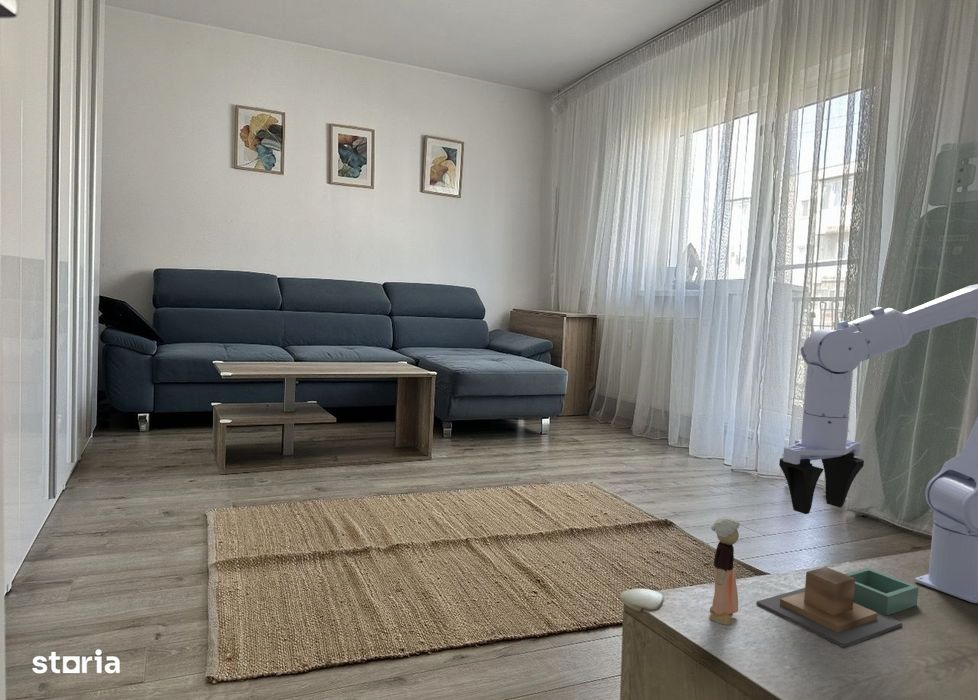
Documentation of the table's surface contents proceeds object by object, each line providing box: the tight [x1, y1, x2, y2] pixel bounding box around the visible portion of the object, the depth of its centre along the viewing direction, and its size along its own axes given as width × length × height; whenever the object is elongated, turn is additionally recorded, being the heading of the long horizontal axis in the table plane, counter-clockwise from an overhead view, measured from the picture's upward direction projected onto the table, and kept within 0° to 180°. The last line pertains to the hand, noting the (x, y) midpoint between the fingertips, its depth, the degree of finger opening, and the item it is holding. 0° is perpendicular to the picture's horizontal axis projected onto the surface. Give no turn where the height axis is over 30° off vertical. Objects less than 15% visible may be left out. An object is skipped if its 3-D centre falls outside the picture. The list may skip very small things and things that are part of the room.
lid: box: [780, 566, 879, 632], centre depth 86 cm, size 8×8×5 cm
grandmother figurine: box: [708, 515, 741, 626], centre depth 84 cm, size 8×4×13 cm, turn 168°
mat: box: [755, 587, 903, 648], centre depth 86 cm, size 12×12×1 cm
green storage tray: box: [844, 567, 919, 616], centre depth 91 cm, size 7×7×2 cm
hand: (818, 508), depth 96 cm, fingers open, 7 cm apart
